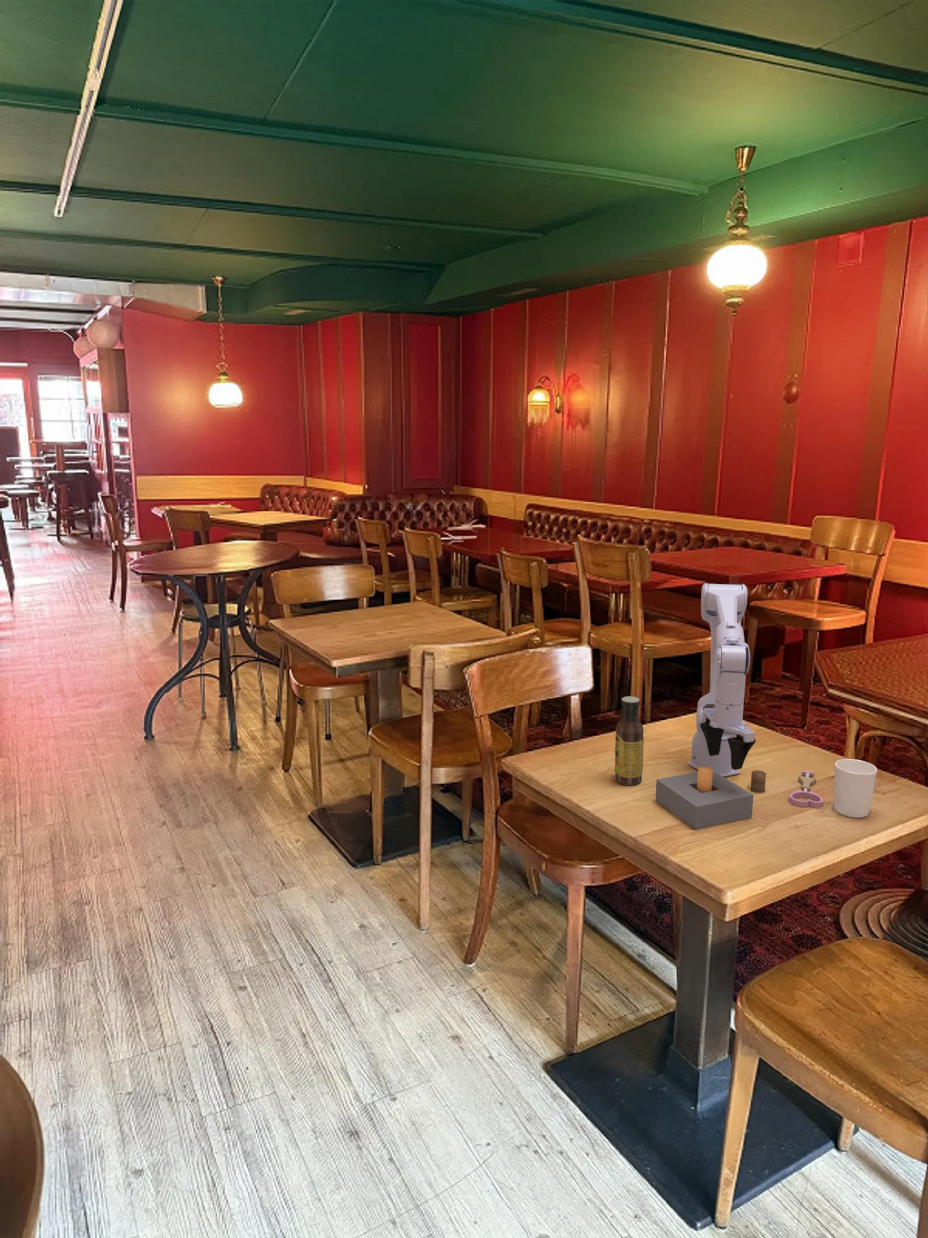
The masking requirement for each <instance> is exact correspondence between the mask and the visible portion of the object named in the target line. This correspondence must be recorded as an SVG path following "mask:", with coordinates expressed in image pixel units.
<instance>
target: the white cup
mask: <svg viewBox="0 0 928 1238" xmlns="http://www.w3.org/2000/svg"><path fill="white" fill-rule="evenodd" d="M834 764H835V766H834V778H833V779H834V781H833V796H834V797H833V809H834V811H835V812H837V813H838V814H841V815H842V816H845V817H850V818H857V819H860V818H865V817H868V816H869V815H870V811H871V804H872V802H873V796H874V791H875V785H876V779H877V774H878V768H877V767H876V766H875V765H874V764H873V763H870V762H867V761H864V760H859V759H856V758H855V759H854V758H843V759H838V760H837V761H835V763H834Z"/></svg>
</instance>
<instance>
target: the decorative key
mask: <svg viewBox="0 0 928 1238" xmlns="http://www.w3.org/2000/svg"><path fill="white" fill-rule="evenodd" d="M814 777H815V773H814V772H812V771H811V770H810V769H809V768H808V769H806V770H804V771H801V775H798V780H797V781H798V782H800V783H801V787H800V788H798V789H797V790H794V791H793V792H791V793H790V794H789V795H788V802H789V803H790V804H791V805H793V806H796V807H799V808H808V807H811V808H814V809H821V808H823V806H824V798H823V797H822V796H820V795H818V794H817V793H816V792H815V791H813V790H812V791H811V789H812V788H811V786H812V785H814V784H815V785H816V784H817V778H814ZM799 798H807V800H800V799H799ZM798 799H799V800H798Z"/></svg>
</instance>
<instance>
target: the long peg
mask: <svg viewBox="0 0 928 1238" xmlns="http://www.w3.org/2000/svg"><path fill="white" fill-rule="evenodd" d="M697 772H698V776H697V790H698V791H699V792H701V793H705V792H710V791H711V790H712V776H713V769H712V768H710V767H705V766H702V767H699V768H698V770H697Z"/></svg>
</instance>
